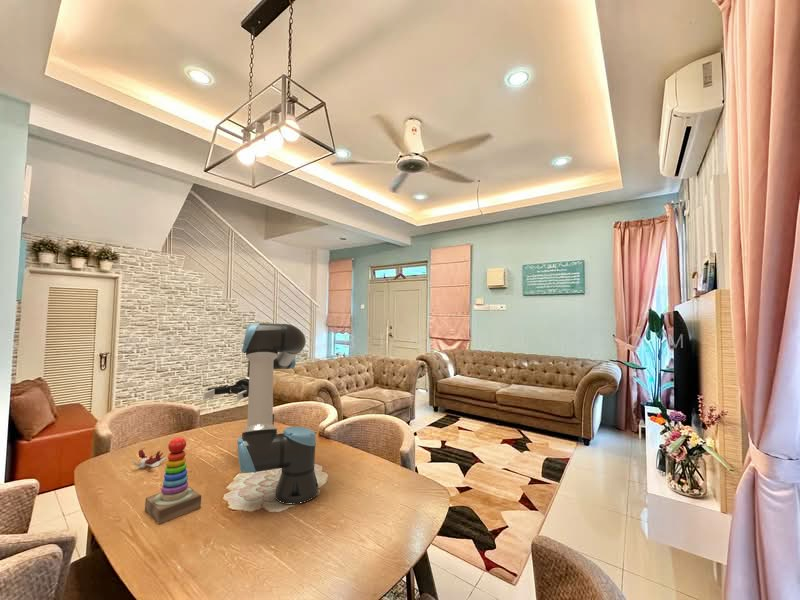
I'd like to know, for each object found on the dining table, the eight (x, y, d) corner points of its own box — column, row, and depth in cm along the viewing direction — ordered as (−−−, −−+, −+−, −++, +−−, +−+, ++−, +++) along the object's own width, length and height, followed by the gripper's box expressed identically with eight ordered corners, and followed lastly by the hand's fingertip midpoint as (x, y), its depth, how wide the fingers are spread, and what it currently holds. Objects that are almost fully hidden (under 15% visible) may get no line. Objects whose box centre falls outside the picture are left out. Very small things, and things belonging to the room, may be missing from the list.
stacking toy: (194, 490, 117) (197, 434, 118) (176, 502, 109) (180, 443, 110) (172, 488, 117) (176, 433, 118) (153, 500, 109) (157, 441, 111)
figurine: (173, 467, 143) (174, 451, 144) (140, 477, 134) (141, 459, 134) (158, 457, 152) (159, 442, 152) (126, 466, 142) (127, 450, 143)
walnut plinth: (200, 507, 114) (201, 494, 114) (159, 524, 104) (160, 509, 105) (184, 495, 121) (185, 483, 121) (144, 510, 111) (145, 496, 112)
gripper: (272, 395, 157) (251, 407, 136) (218, 393, 158) (190, 404, 137) (273, 379, 158) (252, 388, 137) (219, 377, 158) (191, 385, 137)
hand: (221, 396), depth 137 cm, fingers open, 13 cm apart
